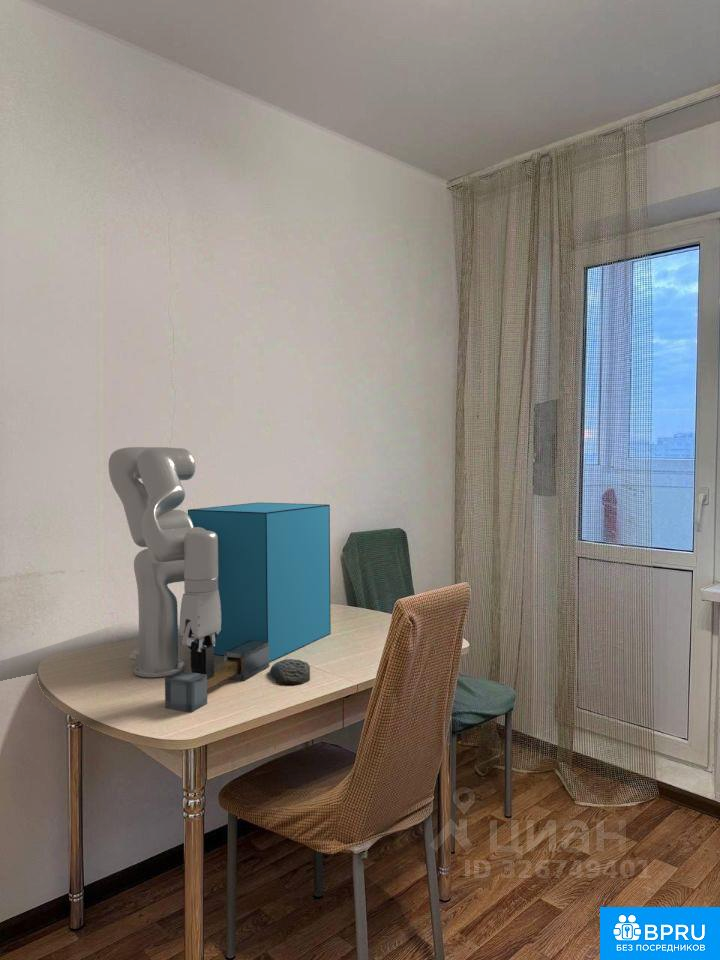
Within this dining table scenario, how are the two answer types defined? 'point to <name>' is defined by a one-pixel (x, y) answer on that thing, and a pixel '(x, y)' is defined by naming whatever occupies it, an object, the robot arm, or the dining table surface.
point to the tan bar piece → (217, 667)
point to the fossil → (290, 672)
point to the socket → (186, 691)
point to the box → (271, 573)
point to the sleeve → (249, 658)
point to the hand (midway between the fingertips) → (202, 665)
